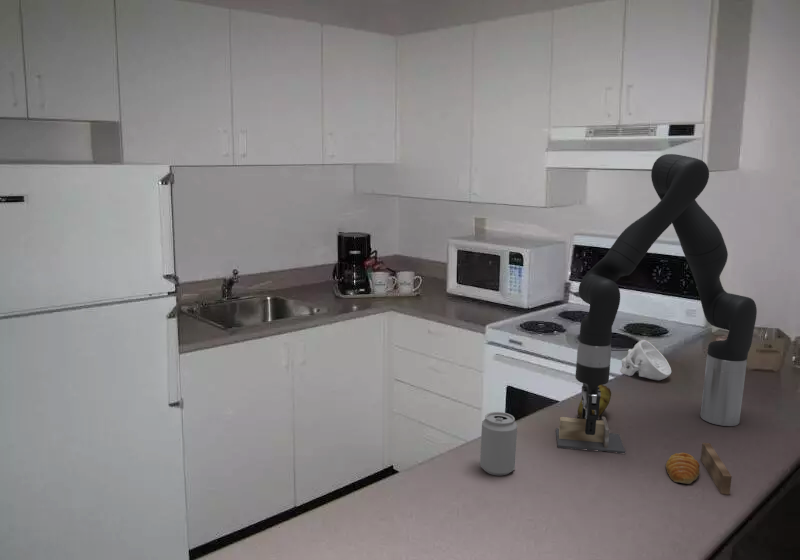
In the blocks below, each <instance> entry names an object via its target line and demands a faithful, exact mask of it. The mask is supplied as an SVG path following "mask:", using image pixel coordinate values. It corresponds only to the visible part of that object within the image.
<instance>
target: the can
mask: <svg viewBox="0 0 800 560" xmlns="http://www.w3.org/2000/svg"><path fill="white" fill-rule="evenodd" d="M515 420H516V419H515V417H514V415H512V414H510V413H507V412H503V411H492V412H489V413H487V414H486V415H485V416H484V419H483V420H482V422H481V433H480V436H481V437H480V451H479V452H480V455H479V457H480V458H479V466H480V467H481V469H483V470H484V472H486V473H487V474H490V475H492V476H507V475H509V474H510V473H511V472H513V471H514V470H515V469H516V454H517V437H518V436H517V435H518V423H517V422H516V421H515Z"/></svg>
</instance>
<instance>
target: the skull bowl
mask: <svg viewBox="0 0 800 560" xmlns="http://www.w3.org/2000/svg"><path fill="white" fill-rule="evenodd" d="M627 352H628V353H627V355H626V356H625V357H623V358H622V359H621V361H620V362H621V367H620V369H619V372H620V373H621V374H623V375H626V376H629V377H631V376H633V375H634V374H635V373H637V374H638V376H639V377H642V378H647V379H649V380H654V381H661V380H664V379H666V378H668V377H669V376H670V375H671V373H672V368H671V366H670V364H669V362H668V360H667V359H666V357H665V356H664V355H663V354H662V353H661V352H660V350H658V348H657V347H655V346H654V345H653V344H652V343H651V342H649V341H648V340H645V339H641V340H639V341H637V343H636V344H634V346H633V348H632V349H631V348H630V349H628V351H627Z"/></svg>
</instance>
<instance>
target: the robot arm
mask: <svg viewBox="0 0 800 560" xmlns="http://www.w3.org/2000/svg"><path fill="white" fill-rule="evenodd" d="M650 174H651V175H650V176H651V183H652V186H653V188H654V190H655V192H656V194H657V196H658V198H659V199H660V201H659V202H658V203H657V204H656V205H655V206H654V207H653V208H651V210H649V211H648V212H647V213H645V214H644V215H642V216H641V217H640V218H638V219H636V220H635V221H633V222H632V223H631V224H629V226H627V227H626V228H625V229H624V230H623V231H622V232H621V233H620V235H619V236H618V237H617V239H616V240H615V241H614V243H613V244H612V246H611V247H610V248H609V250H608V251H607V252H606V254H605V256H604V257H602V258H601V259H600V260H599V261H598V262H596V264H594V266H593V267H591V269H589V270H588V271H587V272H586V274H585V275H584V276H583V277H582V279H581V281H580V283H579V286H578V295H579V298H580V299H581V300H582V302H584V303H587V304H588V305H589V308H588V309H589V311H588V314H587V316H585V317H583V318H582V319H581V322H580V326H579V341H578V346H577V352H576V364H575V365H576V366H575V376H574V377H575V380H577V382H579V383H582V386H581V395H580V396H581V397H580V398H581V399H582V404H583V408H582V419H586V425H585V433H586V434H587V435H595V429H596V420H600V416H599V408H600V396H601V391H599V387H598V386H599V385H604V386H605V385H606V384H608V383H609V382H610V371H611V370H610V369H611V359H612V348H611V347H612V344H611V343H612V334H613V332H612V331H613V330H612V329H613V325H614V322H615V320H616V317H617V314H618V311H619V308H620V303H621V291H620V288H619V286H618V284H617V283H616V282H617V281H618V280H619V279H620V278H621V277H625V276H627V277H628V276H630V275H631V274H632V273H633V272H634V270H636V268H637V266H638V265H639V264H640V262H641V261H642V260H643V258H644V257H645V255H646V254H647V253H648V251H649V250H650V249H651V247H652V246H653V245H654V244H655V242H656V241H657V240H658V238H660V237H661V235H662V234H663V233H664V232H665V231H666V230H667V229H668V228H669V227H670V226H671V225H672V226H673V228H674V232H675V234H676V236H677V238H678V241H679V243H680V244H679V245H680V246H681V250H682V252H683V255H684V257H685V260H686V262H687V264H688V267H689V268H690V271H691V274H692V277H693V279H694V282H695V285H696V288H697V292H698V295H699V299H700V300H699V301H700V303H701V307H702V312H703V315H704V317H705V319H706V321H707V322H708V323H709V325H711V326H713V327H715V328H718V329H722V330H726V331H728V334H727V338H726V339H720V340H714V341H710V343H709V344H708V345H707V354H706V355H707V356H706V361H705V362H706V364H705V373H704V380H703V381H704V382H703V388H702V389H703V391H702V398H701V407H700V414H699V415H700V418H701V419H702V420H703V421H705V422H706V423H710V424H713V425H717V426H721V427H722V426H724V427H734V426H738V425H739V424H740V419H741V411H742V403H743V395H744V390H745V389H744V388H745V379H746V372H747V361H748V355H749V352H750V349H751V347H752V342H753V336H754V331H755V327H756V322H757V321H756V320H757V316H758V315H757V313H758V312H757V310H758V309H757V303H756V302H755V300H754V299H753V298H751V297H748V296H744V295H740V294H734V293H730V292H727V291H726V290H725V289H724V287H723V285H722V282H721V279H720V278H721V277H720V276H721V274H722V272H723V270H724V268H725V266H726V264H727V261H728V257H729V254H728V253H729V252H728V249H727V246H726V243H725V239H724V237H723V235H722V234H723V233H722V231H721V230H720V229H719V227H718V226H717V224H716V223H715V222H714V220H713V219H712V218H711V217H710V215H709V214H708V213H707V212H706V211H705V210H704V209H703V208H702V207H701V206H700V205H699V204H698V202H697V201H696V200H697V198H698V197H699V196H700V194H701V193H702V192H703V191H704V190H705V188H706V186H707V184H708V182H709V179H710V169H709V167H708V164H707V163H706V162H705V161H703V160H702V159H699V158H696V157H692V156H687V155H681V154H675V153H669V154H668V153H666V154H663V155H661V156H659V157H658V158H657V159H656V160H655V161H654V162H653V164H652V168H651V173H650ZM592 410H594V411H595V415H594V414H592Z"/></svg>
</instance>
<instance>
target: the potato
mask: <svg viewBox="0 0 800 560" xmlns="http://www.w3.org/2000/svg"><path fill="white" fill-rule="evenodd" d="M598 387H599V391H601V396H600V408H599V417H600V416H602V415H603V413H604V412H605V411H606V409H607V407H608V406H609V404H610V402H611V397H612V390H611V389H610V388H609V387H608V386H607V385H605V384H604V385H599V386H598ZM582 408H583V404H582V399H581V400H580V402H579V404H578V407H577V416H578V418H579V419H582ZM592 414H594V415H595V411H594V410H592Z"/></svg>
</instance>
